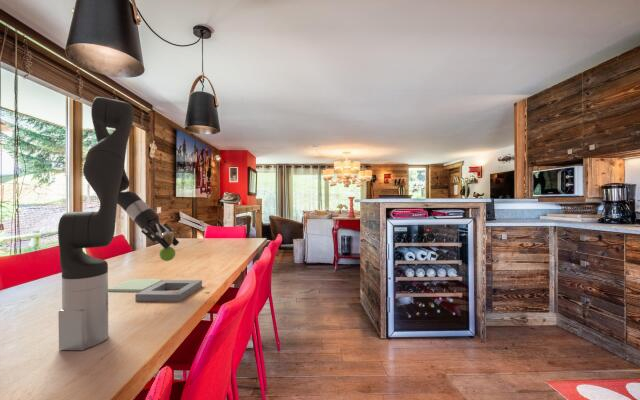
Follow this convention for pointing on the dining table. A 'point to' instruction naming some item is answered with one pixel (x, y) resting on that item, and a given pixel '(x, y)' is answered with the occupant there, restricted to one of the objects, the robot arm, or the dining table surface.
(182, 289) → the gray square frame
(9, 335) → the dining table surface
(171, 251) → the snail figurine
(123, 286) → the green mat
